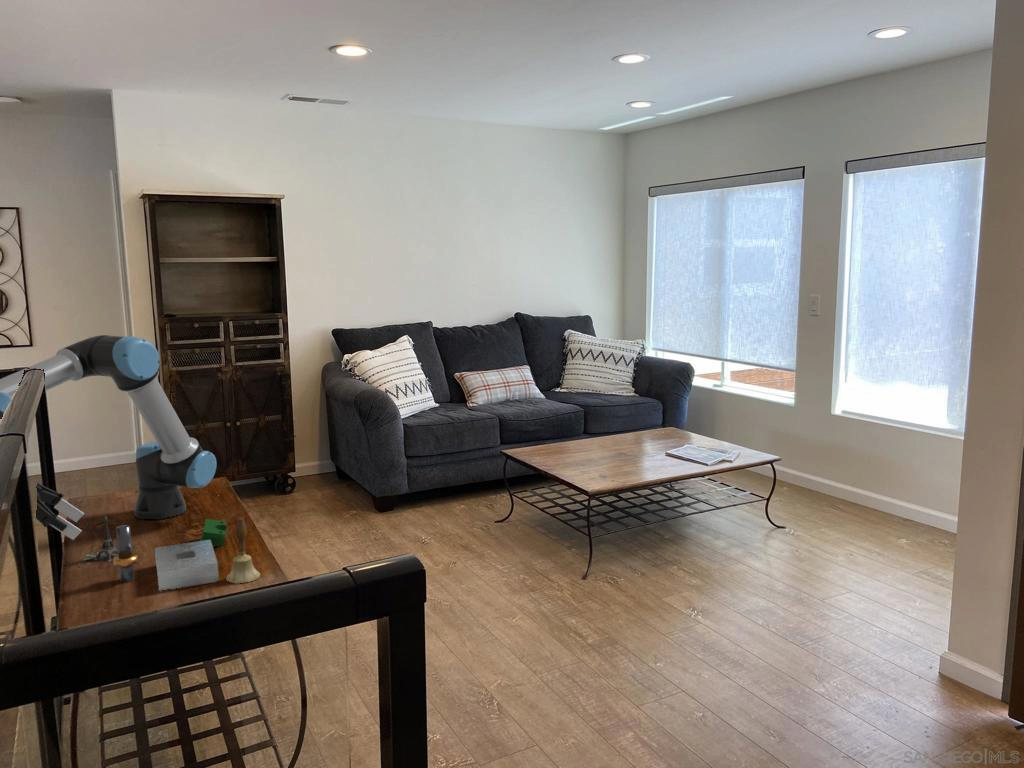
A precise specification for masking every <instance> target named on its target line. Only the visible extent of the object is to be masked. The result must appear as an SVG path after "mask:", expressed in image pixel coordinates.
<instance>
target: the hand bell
mask: <svg viewBox="0 0 1024 768" xmlns="http://www.w3.org/2000/svg"><path fill="white" fill-rule="evenodd" d="M235 535H236V538H237V541H238V553H237V556H235V557H234V558H233V559H232V568H231V571H230V573H228V574H227V577H226V581H227V582H228V581H229V582H228V583H230V582H231V584H235V585H237V584H240V583H242V584H248V583H251V581H252V582H254V581H256V580H259V578H260V577H261V573H260V572H259V571H258V570H257V569H256V568H255V566H254V564H253V561H252V557H251V555H249V554H246V544H245V543H246V542H245V541H246V538H247V525H246V522H245V520H244V517H239V518H238V519H237V522H236V527H235ZM247 582H248V583H247Z"/></svg>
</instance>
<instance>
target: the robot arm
mask: <svg viewBox="0 0 1024 768" xmlns="http://www.w3.org/2000/svg"><path fill="white" fill-rule="evenodd" d="M159 361H160V354H159V352H158V350H157V348H156V346H155V345H154V344H153V343H151V342H150V341H149V340H147V339H145V338H141V337H136V336H132V335H131V336H117V335H103V334H101V335H95V336H92V337H88V338H85V339H82V340H80V341H77V342H75V343H73V344H70V345H67V346H65V347H63V348H60V349H58V351H57V352H56V355H54V356H52V357H49V358H46V359H45V360H42V361H39V362H36V363H35V364H33V365H31V366H30V365H29V366H28V367H26V368H23V369H21V370H18V371H17V372H14V373H11V374H8V375H6V376H3V377H2V378H0V419H2V417H3V414H4V412H5V410H6V408H7V406H8V404H9V403H10V401H11V398H12V396H13V394H14V393H15V392H16V390H17V388H18V385H19V383H20V382H21V380H22V377H23V375H24V374H23V373H24V370H29V369H27V368H36V369H41V370H43V369H44V373H45V392H46V391H49V390H51V389H53V388H56V387H57V386H60V385H62V384H64V383H66V382H69V381H72V382H73V381H76V382H77V381H80V380H82V379H84V378H88V377H98V376H100V377H109V378H111V379H112V380H113V382H114V383H115V385H116V386H117V389H118V390H119V391H121V392H125V393H128V395H129V397H130V399H131V400H132V402H133V403H134V406H135V407H136V409H137V410H138V412H139V414H140V415H141V418H142V420H143V421H144V423H145V424H146V426H147V427H148V429H149V431H150V432H151V434H152V435H153V437H154V440H155V441H153V442H147V443H144V444H141V445H139V446H137V448H136V449H135V454H136V455H135V463H136V474H137V483H138V485H137V486H138V494H137V498H136V500H135V505H134V507H133V508H134V509H133V510H134V511H133V513H134V517H135V516H136V517H138V518H137V519H139V518H141V519H140V520H144V519H157V520H164V519H163V518H165V519H168V518H167V517H170V518H173V516H174V517H177V516H179V515H181V513H182V514H183V513H185V512H186V510H187V508H186V501H185V499H184V497H183V496H184V495H183V494H182V492H181V489H180V487H185V488H189V489H194V488H195V489H202V488H204V487H206V486H207V485H209V483H210V482H211V481H212V480H213V479H214V476H215V474H216V470H217V458H216V455H215V454H213V453H212V452H210V451H209V450H203V448H202V447H201V445H200V443H199V440H197V438H195V437H190V436H189V434H188V432H187V431H186V429H185V426H184V425H183V423H182V421H181V420H180V418H179V416H178V413H177V412H176V410H175V409H174V407H173V406H172V404H171V402H170V400H169V398H168V397H167V395H166V393H165V391H164V389H163V387H162V385H161V384H160V382H159V380H158V379H157V378H158V376H159V374H160V372H159V371H160V370H159V368H160V363H159ZM36 488H37V510H36V518H35V519H36V520H37V521H38V522H40V523H41V524H42V526H43V527H44V528H48V527H49V526H51V527H52V528H54V529H55V530H56V531H59V533H61V534H62V535H65V537H67V538H69V539H70V540H72V541H74V540H75V539H76V538H77V537H78V536H79V535H80V533H82V531H83V530H82V529H80V528H79V527H77V526H75V525H74V524H73V523H71V522H70V521H68V520H66V519H65V518H64V517H62V516H61V515H59V514H55V513H54V512H53V511H52V510H51V509H50V508H49V507H48V506H47V505H46V504H48V505H51V506H53V509H55V510H56V511H57V512H60V513H61V514H63V515H64V516H65V517H67V518H69V519H70V520H72V521H73V522H75V523H78V521H80V519H81V518H82V517H83V516H84V515H85V513H84V512H83V511H82V510H80V509H79V508H77V507H75V506H74V505H72V504H71V503H69V502H68V501H67V500H65V499H64V498H63V497H64V494H63V493H59V492H58V491H55V490H54V489H51V488H49V487H47V486H46V485H43V484H41V483H39V482H37V486H36ZM184 511H185V512H184ZM176 515H177V516H176ZM136 517H135V518H136Z"/></svg>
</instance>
